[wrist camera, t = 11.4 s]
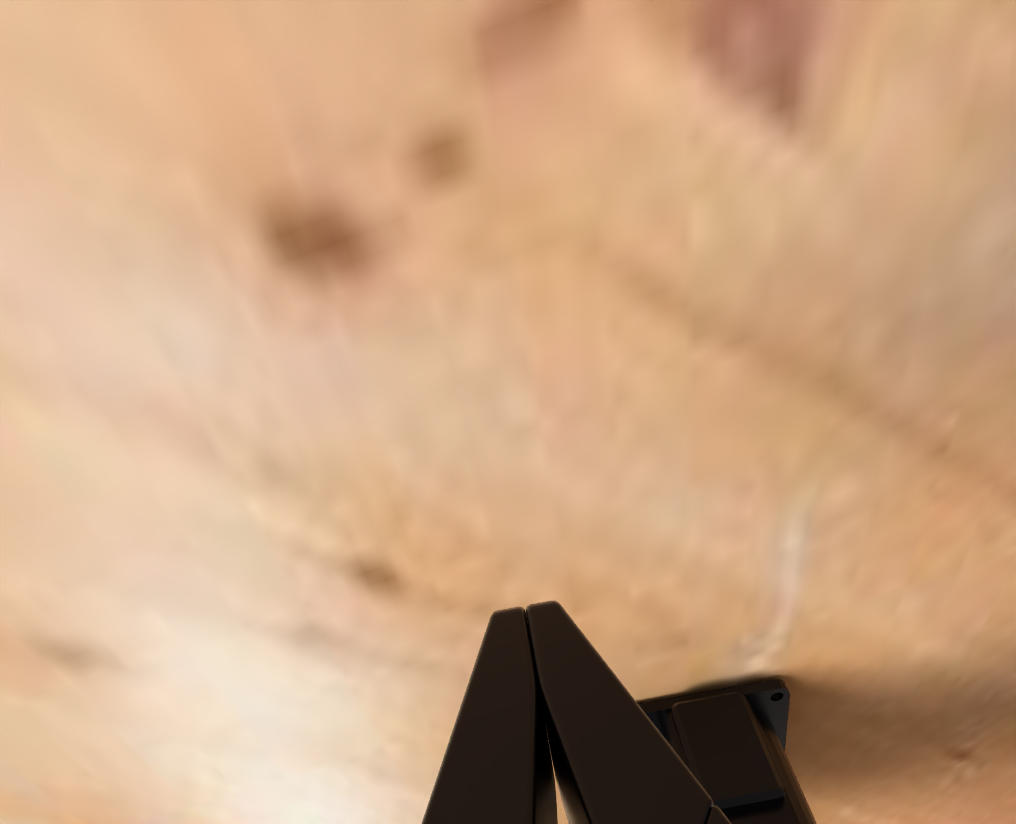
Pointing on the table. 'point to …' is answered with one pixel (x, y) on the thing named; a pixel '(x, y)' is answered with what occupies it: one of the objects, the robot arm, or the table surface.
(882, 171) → the table surface
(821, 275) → the table surface
